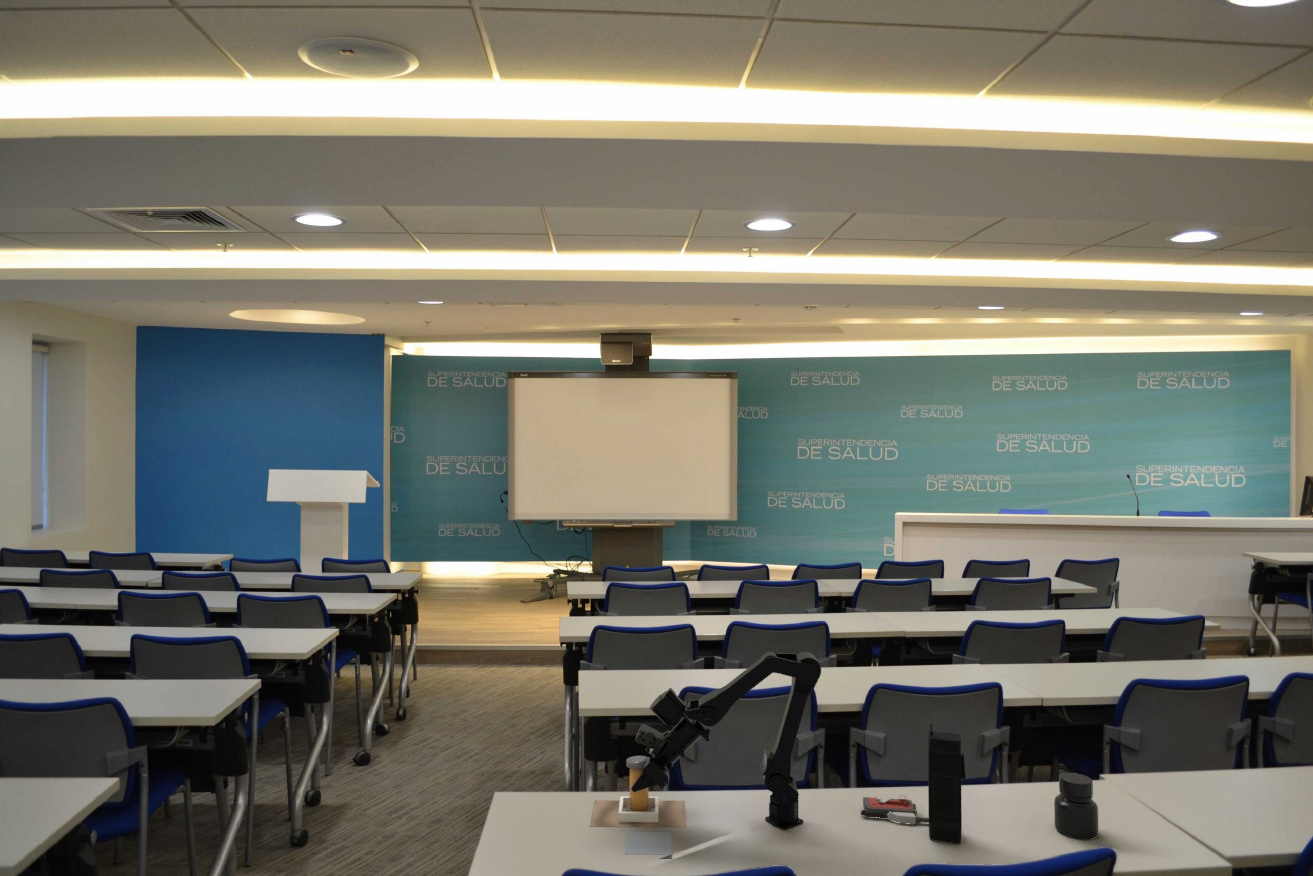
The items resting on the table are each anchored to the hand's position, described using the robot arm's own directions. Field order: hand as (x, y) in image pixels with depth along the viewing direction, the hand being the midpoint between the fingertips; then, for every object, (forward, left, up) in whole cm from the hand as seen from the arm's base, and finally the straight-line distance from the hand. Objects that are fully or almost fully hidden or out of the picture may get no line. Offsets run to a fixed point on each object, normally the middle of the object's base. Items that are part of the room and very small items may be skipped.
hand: (633, 785), depth 188 cm
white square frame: (-1, +1, -7) cm, 7 cm away
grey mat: (+6, +14, -7) cm, 17 cm away
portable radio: (-51, +50, -8) cm, 72 cm away
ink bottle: (-77, +66, -8) cm, 102 cm away
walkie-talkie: (-52, +38, -8) cm, 64 cm away
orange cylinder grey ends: (-1, +1, -6) cm, 6 cm away
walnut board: (-1, +1, -7) cm, 7 cm away
